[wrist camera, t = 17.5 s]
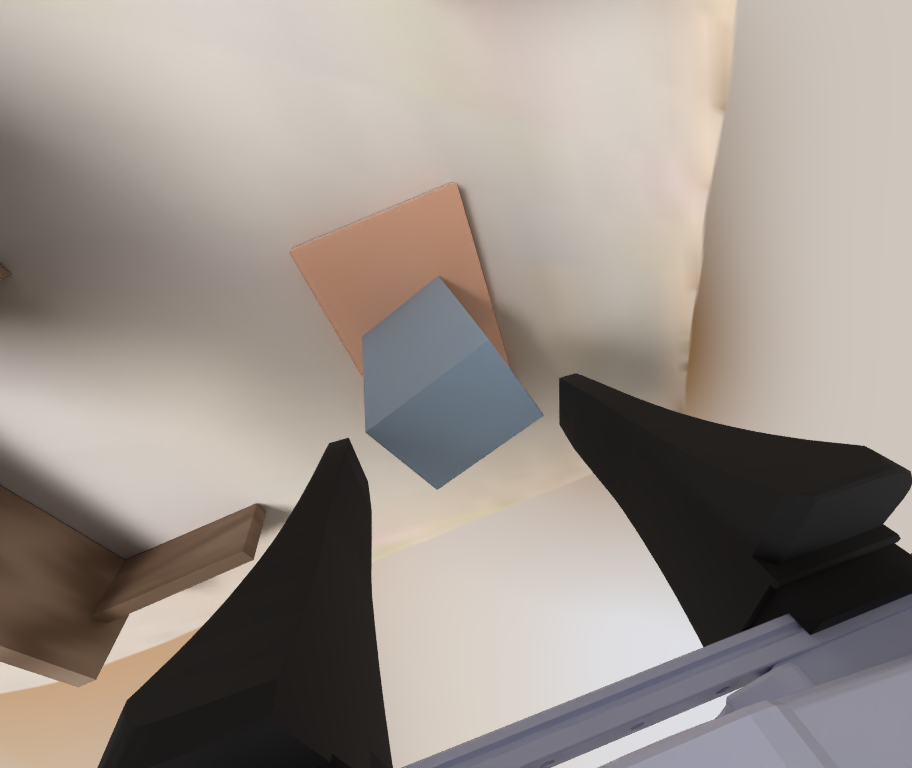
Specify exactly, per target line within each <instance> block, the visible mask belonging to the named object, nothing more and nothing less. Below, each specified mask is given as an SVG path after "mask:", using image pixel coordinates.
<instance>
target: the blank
mask: <svg viewBox="0 0 912 768" xmlns="http://www.w3.org/2000/svg"><path fill="white" fill-rule="evenodd" d="M362 351H363V377H364V403H365V429H366V433H367V434H368V435H370V436H371V437H372V438H373V439H375V440H376V441H377V442H378V443H380V444H381V445H382V446H383V447H385V448H386V449H387V450H388V451H390V452H391V453H392V454H393V455H394V456H396V457H397V458H398V459H399V460H401V461H402V462H403V463H404V464H406V465H407V466H408V467H409V468H411V469H412V470H413V471H414V472H416V473H417V474H418V475H419V476H421V477H422V478H423V479H424V480H426V481H427V482H428V483H429V484H431V485H432V486H433V487H434V488H436V489H437V490H438V489H439V488H441V487H442V486H443V485H445V484H446V483H448V482H449V481H451V480H452V479H453V478H455V477H456V476H458V475H459V474H461V473H462V472H463V471H465V470H466V469H468V468H469V467H471V466H472V465H473V464H475V463H476V462H478V461H479V460H481V459H482V458H483V457H485V456H486V455H488V454H489V453H491V452H492V451H493V450H495V449H496V448H498V447H499V446H501V445H502V444H503V443H505V442H506V441H508V440H509V439H511V438H512V437H513V436H515V435H516V434H518V433H519V432H520V431H522V430H523V429H525V428H526V427H528V426H529V425H530V424H532V423H533V422H535V421H536V420H538V419H539V418H540V417H542V416H543V413H542V412H541V411H540V409H539V408H538V406H537V405H536V404H535V402H534V401H533V400H532V398H531V397H530V395H529V394H528V393H527V391H526V390H525V389H524V387H523V386H522V384H521V383H520V382H519V380H518V379H517V377H516V376H515V375H514V373H513V372H512V371H511V369H510V368H509V366H508V365H507V364H506V362H505V361H504V360H503V358H502V357H501V355H500V354H499V353H498V351H497V350H496V349H495V347H494V346H493V344H492V343H491V342H490V340H489V339H488V338H487V336H486V335H485V334H484V333H483V331H482V330H481V329H480V328H479V326H478V325H477V324H476V323H475V321H474V320H473V319H472V317H471V316H470V315H469V314H468V312H467V311H466V310H465V309H464V307H463V306H462V305H461V304H460V302H459V301H458V300H457V298H456V297H455V296H454V295H453V293H452V292H451V291H450V290H449V288H448V287H447V286H446V284H445V283H444V282H443V281H442V279H441V278H440V277H439V276H437V277H436V278H435V279H434V280H432V281H431V282H430V283H429V284H427V285H426V286H425V287H424V288H422V289H421V290H420V291H419V292H417V293H416V294H415V295H414V296H412V297H411V298H410V299H409V300H407V301H406V302H405V303H404V304H402V305H401V306H400V307H399V308H397V309H396V310H395V311H394V312H392V313H391V314H390V315H389V316H387V317H386V318H385V319H384V320H382V321H381V322H380V323H379V324H377V325H376V326H375V327H374V328H372V329H371V330H370V331H369V332H367V333H366V334H365V335H364V336H362Z"/></svg>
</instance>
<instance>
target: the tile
mask: <svg viewBox="0 0 912 768" xmlns="http://www.w3.org/2000/svg"><path fill="white" fill-rule="evenodd" d="M289 253H290V255H291V257H292V258H293V260H294V262H295V263H296V265H297V267H298V268H299V270H300V272H301V273H302V275H303V277H304V279H305V280H306V282H307V284H308V285H309V287H310V289H311V290H312V292H313V294H314V296H315V297H316V299H317V301H318V302H319V304H320V306H321V307H322V309H323V311H324V312H325V314H326V316H327V318H328V319H329V321H330V323H331V324H332V326H333V328H334V329H335V331H336V333H337V334H338V336H339V338H340V340H341V341H342V343H343V345H344V346H345V348H346V350H347V351H348V353H349V355H350V357H351V358H352V360H353V362H354V363H355V365H356V367H357V368H358V370H359V372H360V373H361V375H362V377H363V351H362V336H364V335H365V334H366V333H367V332H369V331H370V330H371V329H372V328H374V327H375V326H376V325H377V324H379V323H380V322H381V321H382V320H384V319H385V318H386V317H387V316H389V315H390V314H391V313H392V312H394V311H395V310H396V309H397V308H399V307H400V306H401V305H402V304H404V303H405V302H406V301H407V300H409V299H410V298H411V297H412V296H414V295H415V294H416V293H417V292H419V291H420V290H421V289H422V288H424V287H425V286H426V285H427V284H429V283H430V282H431V281H432V280H434V279H435V278H436V277H437V276H439V277H440V278H441V279H442V281H443V282H444V283H445V284H446V286H447V287H448V288H449V290H450V291H451V292H452V293H453V295H454V296H455V297H456V298H457V300H458V301H459V302H460V304H461V305H462V306H463V307H464V309H465V310H466V311H467V312H468V314H469V315H470V316H471V317H472V319H473V320H474V321H475V323H476V324H477V325H478V326H479V328H480V329H481V330H482V331H483V333H484V334H485V335H486V336H487V338H488V339H489V340H490V342H491V343H492V344H493V346H494V347H495V349H496V350H497V351H498V353H499V354H500V355H501V357H502V358H503V360H504V361H505V362H506V364H507V365H508V366H509V368H510V365H509V362H508V358H507V355H506V352H505V348H504V345H503V341H502V338H501V334H500V331H499V327H498V324H497V321H496V317H495V314H494V310H493V307H492V303H491V300H490V296H489V293H488V289H487V286H486V283H485V279H484V276H483V272H482V269H481V265H480V262H479V258H478V255H477V252H476V248H475V245H474V241H473V238H472V234H471V231H470V227H469V224H468V220H467V217H466V214H465V210H464V207H463V203H462V200H461V196H460V193H459V189H458V186H457V183H453V182H451V183H449V184H446V185H444V186H441V187H439V188H437V189H434V190H432V191H429V192H427V193H424V194H422V195H420V196H417V197H415V198H412V199H410V200H407V201H405V202H403V203H400V204H398V205H395V206H393V207H391V208H388V209H386V210H383V211H381V212H378V213H376V214H374V215H371V216H369V217H366V218H364V219H361V220H359V221H357V222H354V223H352V224H349V225H347V226H345V227H342V228H340V229H337V230H335V231H332V232H330V233H328V234H325V235H323V236H320V237H318V238H315V239H313V240H311V241H308V242H306V243H303V244H301V245H298V246H296V247H294V248H292V249H291V250H290V252H289ZM363 379H364V377H363Z"/></svg>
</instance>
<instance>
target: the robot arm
mask: <svg viewBox="0 0 912 768" xmlns="http://www.w3.org/2000/svg"><path fill="white" fill-rule="evenodd" d="M559 417H560V426H561V428H562V429H563V431H564V433H565V435H566V436H567V438H568V440H569V441H570V443H571V444H572V446H573V448H574V449H575V450H576V452H577V453H578V454H579V455H580V457H581V458H582V459H583V460H584V462H585V463H586V464H587V465H588V467H589V468H590V469H591V470H592V472H593V473H594V474H595V475H596V476H597V478H598V479H599V480H600V481H601V482H602V484H603V485H604V486H605V488H606V489H607V490H608V491H609V492H610V494H611V495H612V496H613V497H614V498H615V500H616V501H617V503H618V504H619V505H620V507H621V508H622V509H623V511H624V512H625V514H626V515H627V517H628V519H629V520H630V522H631V523H632V525H633V526H634V527H635V529H636V531H637V532H638V534H639V535H640V537H641V539H642V540H643V542H644V543H645V545H646V547H647V548H648V550H649V551H650V553H651V555H652V556H653V558H654V560H655V561H656V563H657V564H658V566H659V568H660V569H661V571H662V573H663V574H664V576H665V578H666V580H667V581H668V583H669V585H670V586H671V588H672V590H673V592H674V593H675V595H676V597H677V599H678V601H679V602H680V604H681V606H682V608H683V610H684V612H685V613H686V615H687V617H688V619H689V621H690V623H691V624H692V626H693V628H694V630H695V632H696V634H697V635H698V637H699V639H700V641H701V643H702V645H703V648H701V649H698V650H696V651H693V652H691V653H688V654H686V655H683V656H681V657H678V658H676V659H673V660H671V661H668V662H666V663H663V664H661V665H658V666H656V667H653V668H651V669H648V670H646V671H643V672H640V673H638V674H636V675H633V676H631V677H628V678H625V679H623V680H621V681H618V682H615V683H613V684H610V685H608V686H605V687H603V688H600V689H598V690H595V691H593V692H590V693H588V694H585V695H583V696H580V697H578V698H575V699H573V700H570V701H568V702H565V703H563V704H560V705H558V706H555V707H553V708H550V709H548V710H545V711H543V712H540V713H538V714H535V715H533V716H530V717H528V718H525V719H523V720H520V721H518V722H516V723H513V724H510V725H508V726H505V727H503V728H500V729H498V730H495V731H493V732H490V733H488V734H485V735H483V736H480V737H478V738H475V739H473V740H470V741H467V742H465V743H462V744H460V745H457V746H455V747H452V748H450V749H447V750H445V751H442V752H440V753H437V754H435V755H432V756H430V757H428V758H425V759H422V760H420V761H418V762H415V763H413V764H410V765H407V766H405V767H402V768H551V767H553V766H556V765H558V764H560V763H563V762H565V761H568V760H570V759H572V758H575V757H577V756H579V755H582V754H584V753H587V752H589V751H591V750H593V749H596V748H599V747H601V746H603V745H606V744H608V743H610V742H613V741H615V740H618V739H620V738H622V737H625V736H627V735H630V734H632V733H634V732H637V731H639V730H641V729H644V728H646V727H648V726H651V725H653V724H656V723H658V722H660V721H663V720H665V719H668V718H670V717H672V716H675V715H677V714H679V713H682V712H684V711H686V710H689V709H691V708H694V707H696V706H699V705H701V704H703V703H706V702H708V701H711V700H713V699H715V698H717V697H720V696H722V695H725V694H727V693H729V692H732V691H734V690H737V689H739V688H741V689H739V690H738V691H736V692H734V693H732V694H731V695H729V696H728V697H727V700H726V706H725V707H724V709H723V710H722V712H721V713H720V715H719V716H718V717H716V718H715V719H714V720H711V721H709V722H706V723H703V724H700V725H698V726H695V727H693V728H690V729H687V730H685V731H682V732H680V733H677V734H675V735H672V736H670V737H667V738H665V739H662V740H660V741H657V742H655V743H653V744H650V745H648V746H646V747H643V748H641V749H639V750H636V751H634V752H632V753H629V754H627V755H625V756H622V757H620V758H618V759H616V760H614V761H611V762H609V763H607V764H605V765H603V766H601V767H599V768H912V553H911V554H909V553H908V552H906V551H905V550H903V549H902V548H900V547H899V546H897V545H896V544H895V543H896V542H898V541H899V540H900V537H899V535H898V534H897V533H895V532H894V531H892V530H891V529H889V528H888V527H886V526H885V525H883V523H884V522H885V521H886V520H887V518H888V517H889V516H890V515H891V513H892V512H893V511H894V510H895V508H896V507H897V506H898V505H899V504H900V502H901V501H902V500H903V499H904V497H905V496H906V494H907V493H908V491H909V490H910V487H911V485H912V475H911V471H909V470H907V469H906V468H904V467H902V466H900V465H898V464H897V463H895V462H893V461H891V460H889V459H888V458H886V457H884V456H882V455H880V454H879V453H877V452H875V451H873V450H871V449H869V448H867V447H865V446H860V445H850V444H841V443H832V442H822V441H813V440H805V439H798V438H791V437H785V436H778V435H771V434H766V433H761V432H755V431H750V430H745V429H740V428H736V427H731V426H726V425H722V424H718V423H714V422H709V421H705V420H702V419H699V418H695V417H691V416H688V415H684V414H681V413H678V412H675V411H672V410H669V409H666V408H663V407H660V406H657V405H654V404H651V403H649V402H646V401H643V400H641V399H638V398H635V397H633V396H630V395H628V394H625V393H623V392H621V391H618V390H616V389H613V388H611V387H609V386H606V385H604V384H601V383H599V382H597V381H594V380H592V379H590V378H587V377H584V376H582V375H579V374H572V375H569V376H565V377H561V378H559ZM371 547H372V510H371V502H370V493H369V486H368V481H367V478H366V476H365V474H364V472H363V469H362V467H361V465H360V462H359V460H358V458H357V456H356V453H355V451H354V449H353V447H352V444H351V442H350V440H349V438H346V439H343V440H339V441H336V442H332V443H329V445H328V446H327V448H326V450H325V452H324V454H323V456H322V458H321V460H320V462H319V464H318V466H317V468H316V470H315V472H314V474H313V476H312V478H311V480H310V481H309V483H308V485H307V487H306V489H305V491H304V492H303V494H302V496H301V498H300V500H299V501H298V503H297V505H296V506H295V508H294V509H293V511H292V513H291V514H290V516H289V518H288V519H287V521H286V523H285V524H284V526H283V527H282V529H281V530H280V532H279V533H278V535H277V536H276V538H275V539H274V541H273V542H272V544H271V545H270V546H269V548H268V549H267V550H266V552H265V553H264V554H263V556H262V557H261V559H260V560H259V561H258V562H257V564H256V565H255V566H254V567H253V569H252V570H251V571H250V572H249V573H248V575H247V576H246V577H245V578H244V580H243V581H242V582H241V583H240V584H239V586H238V587H237V588H236V589H235V590H234V592H233V593H232V594H231V595H230V596H229V598H228V599H227V600H226V601H225V602H224V603H223V604H222V605H221V607H220V608H219V609H218V610H217V611H216V612H215V613H214V614H213V615H212V617H211V618H210V619H209V620H208V621H207V622H206V623H205V624H204V625H203V626H202V627H201V628H200V630H198V631H197V632H196V634H195V635H194V636H193V637H192V638H191V639H190V640H189V641H188V642H187V643H186V644H185V645H184V646H183V647H182V648H181V649H180V650H179V651H178V652H177V653H176V654H175V655H174V656H173V657H172V658H171V659H170V660H169V661H168V662H167V663H166V664H165V665H163V666H162V667H161V668H160V669H159V670H158V671H157V672H156V673H155V674H154V675H153V676H152V677H151V678H150V679H149V680H148V681H147V682H146V683H145V684H144V685H143V686H142V687H141V688H140V689H139V690H138V691H137V692H135V693H134V694H133V695H132V696H131V697H130V698H129V699H128V700H127V702H126V704H125V706H124V708H123V710H122V713H121V714H120V717H119V719H118V721H117V724H116V726H115V728H114V731H113V733H112V735H111V738H110V740H109V742H108V745H107V747H106V749H105V752H104V754H103V756H102V759H101V761H100V763H99V766H98V768H393V765H392V759H391V752H390V745H389V738H388V730H387V723H386V716H385V709H384V701H383V694H382V685H381V677H380V669H379V660H378V651H377V642H376V632H375V622H374V611H373V601H372V584H371Z"/></svg>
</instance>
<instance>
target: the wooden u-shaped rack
mask: <svg viewBox="0 0 912 768" xmlns="http://www.w3.org/2000/svg"><path fill="white" fill-rule="evenodd" d="M9 275H11V274H10V273H9V272H8V271H7V270H6V269H5V268H4V267H3V266H1V265H0V279H2V278H4V277H6V276H9ZM265 514H266V512H265V511H264V510H263V509H262V508H261V507H260V506H259V505H258V504H254V505H252V506H250V507H247V508H245V509H243V510H241V511H238V512H236V513H234V514H231V515H229V516H227V517H224V518H222V519H220V520H217V521H215V522H213V523H210V524H208V525H206V526H203V527H201V528H199V529H196V530H194V531H192V532H189V533H187V534H185V535H182V536H180V537H178V538H175V539H173V540H171V541H168V542H166V543H164V544H161V545H159V546H157V547H154V548H152V549H150V550H147V551H145V552H143V553H141V554H138V555H136V556H134V557H131V558H129V559H127V560H124V559H122V558H121V557H119V556H117V555H116V554H114V553H112V552H111V551H109V550H107V549H106V548H104V547H102V546H101V545H99V544H97V543H95V542H94V541H92V540H90V539H89V538H87V537H85V536H84V535H82V534H80V533H79V532H77V531H75V530H74V529H72V528H70V527H69V526H67V525H65V524H64V523H62V522H60V521H59V520H57V519H55V518H54V517H52V516H50V515H49V514H47V513H45V512H44V511H42V510H40V509H38V508H37V507H35V506H33V505H32V504H30V503H28V502H27V501H25V500H23V499H22V498H20V497H18V496H17V495H15V494H13V493H12V492H10V491H8V490H7V489H5V488H3V487H2V486H0V662H3V663H6V664H9V665H12V666H15V667H18V668H21V669H24V670H28V671H31V672H34V673H37V674H40V675H43V676H46V677H49V678H52V679H55V680H58V681H61V682H64V683H67V684H70V685H73V686H76V687H80V686H82V685H85V684H87V683H89V682H92V681H94V680H96V678H97V676H98V675H99V673H100V670H101V669H102V667H103V665H104V663H105V661H106V659H107V657H108V655H109V653H110V651H111V649H112V647H113V645H114V643H115V641H116V639H117V637H118V635H119V633H120V631H121V629H122V627H123V625H124V624H125V622H126V620H127V618H128V616H129V614H130V613H132V612H134V611H136V610H139V609H141V608H143V607H146V606H148V605H150V604H153V603H155V602H157V601H160V600H162V599H164V598H166V597H169V596H171V595H173V594H176V593H178V592H180V591H183V590H185V589H187V588H189V587H192V586H194V585H196V584H199V583H201V582H203V581H206V580H208V579H210V578H213V577H215V576H217V575H219V574H222V573H224V572H226V571H229V570H231V569H233V568H236V567H238V566H240V565H242V564H245V563H247V562H249V561H252V560H254V556H255V552H256V548H257V545H258V541H259V537H260V533H261V529H262V525H263V522H264V518H265Z"/></svg>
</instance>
